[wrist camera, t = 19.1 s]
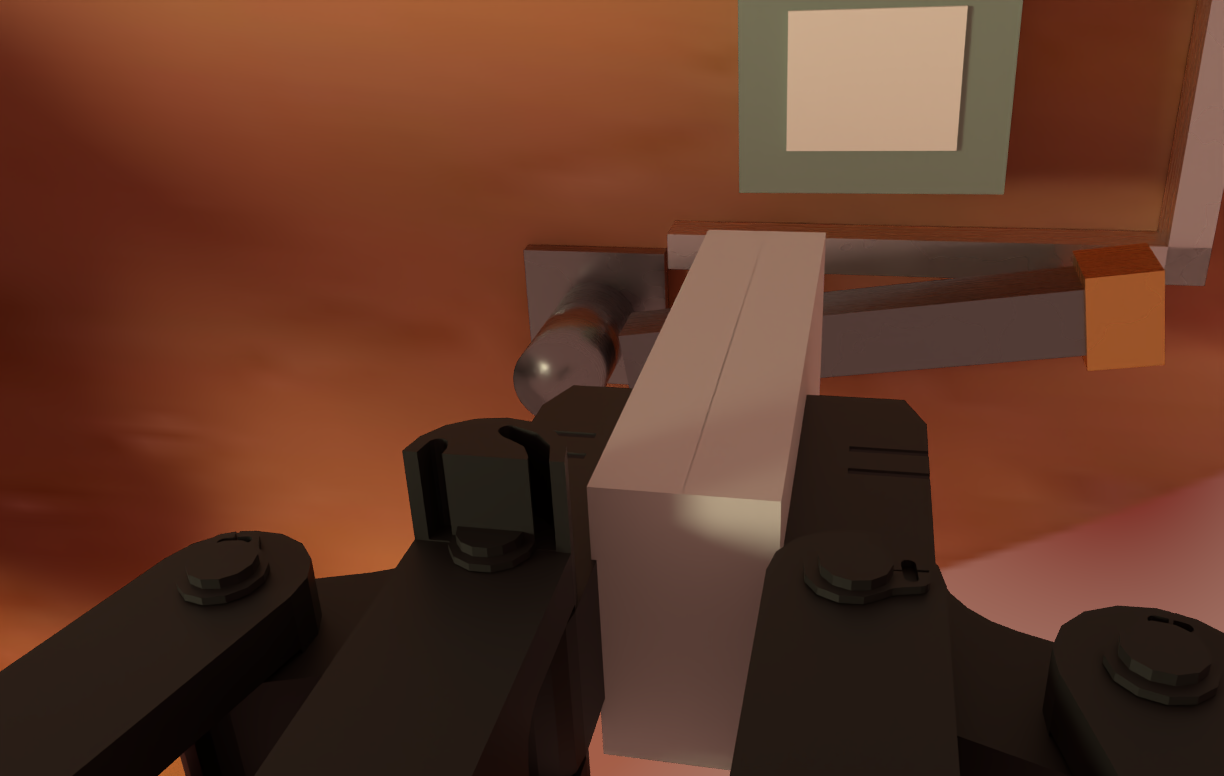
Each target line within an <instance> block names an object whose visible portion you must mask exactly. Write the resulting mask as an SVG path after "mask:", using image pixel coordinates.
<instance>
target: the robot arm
mask: <svg viewBox="0 0 1224 776" xmlns="http://www.w3.org/2000/svg"><path fill="white" fill-rule="evenodd" d="M825 242H826V233H823V232H781V231H739V230H708V232H707V234H706V236H705V238H704V240H703V242H702V244H701V246H700V249H699V251H698V253H697V255H696V257H695V259H694V261H693V263H692V265H691V268H690V270H689V272H688V274H687V276H686V278H685V280H684V282H683V284H682V287H681V289H680V291H679V293H678V295H677V297H676V299H675V301H674V303H673V306H672V308H671V310H670V312H669V314H668V316H667V318H666V320H665V322H664V325H663V327H662V329H661V331H660V333H659V335H658V337H657V339H656V341H655V344H654V346H653V348H652V350H651V352H650V354H649V356H648V358H647V360H646V363H645V365H644V367H643V369H642V371H641V373H640V375H639V377H638V379H637V382H636V384H635V386H634V388H616V387H598V386H580V385H573V386H571V387H570V388H568V389H567V390H565V391H563V392H562V393H560V394H559V395H557V396H556V397H554V398H552V399H551V400H549V401H548V402H546V403H545V404H543V405H542V406H541V408H540V410H539V411H538V413H537V414H536V416H535V418H534V419H533V421H532V422H530V421H524V420H518V419H512V418H484V419H473V420H468V421H463V422H459V423H454V424H449V425H445V426H443V427H441V428H438V429H436V430H434V431H431V432H429V433H427V434H424V435H422V436H420V437H419V438H417V439H416V440H415V441H414V442H412V443H411V444H410V445H409V446H408V447H406V448H405V449H404V450H403V451H402V452H403V459H404V466H405V473H406V480H407V487H408V494H409V501H410V508H411V515H412V521H413V528H414V535H415V540H414V542H413V543H412V545H411V546H410V548H409V549H408V551H407V552H406V553H405V555H404V556H403V558H402V559H401V561H400V562H399V564H398V565H397V567H396V568H395V569H389V570H383V571H378V572H372V573H363V574H354V575H345V576H336V577H327V578H318V579H315V576H314V571H313V565H312V560H311V557H310V556H309V554H308V552H307V551H306V549H305V547H304V546H303V544H302V543H300V542H298V541H296V540H294V539H292V538H290V537H288V536H286V535H284V534H278V533H269V532H261V531H240V533H236V532H231V533H225V534H220V535H217V536H215V537H213V538H210V539H207V540H203V541H200V542H197V543H194V544H191V545H189V546H187V547H186V548H184V549H182V550H180V551H178V552H176V553H174V554H172V555H171V556H169V557H167V558H165V559H163V560H162V561H161V562H159V563H158V564H156V565H155V566H153V567H152V568H150V569H149V570H147V571H146V572H145V573H143V574H142V575H140V576H139V577H137V578H136V579H134V580H133V581H131V582H130V583H129V584H127V585H126V586H124V587H123V588H121V589H120V590H118V591H117V592H115V593H114V594H113V595H111V596H110V597H108V598H107V599H105V600H104V601H102V602H101V603H99V604H98V605H97V606H95V607H94V608H92V609H91V610H89V611H88V612H86V613H85V614H84V615H82V616H81V617H79V618H78V619H76V620H75V621H73V622H72V623H70V624H69V625H68V626H66V627H65V628H63V629H62V630H60V631H59V632H57V633H56V634H54V635H53V636H52V637H50V638H49V639H47V640H46V641H44V642H43V643H41V644H40V645H38V646H37V647H36V648H34V649H33V650H31V651H30V652H28V653H27V654H25V655H24V656H22V657H21V658H20V659H18V660H17V661H15V662H14V663H12V664H11V665H9V666H8V667H6V668H5V669H4V670H2V671H1V672H0V776H158V775H159V774H160V773H161V772H163V771H164V770H165V769H166V768H167V767H168V766H169V765H170V764H172V763H173V762H174V761H175V760H176V759H177V758H178V757H179V756H180V757H181V761H182V764H183V768H184V771H185V775H186V776H590V766H589V751H588V747H589V745H590V742H591V739H592V736H593V733H594V729H595V727H596V723H597V721H598V718H599V715H600V712H601V718H602V733H603V749H604V754H609V755H617V756H625V757H633V758H640V759H648V760H655V761H663V762H671V763H678V764H686V765H694V766H702V767H709V768H717V769H724V770H731V771H730V776H1224V633H1222V632H1221V631H1219V630H1217V629H1214V628H1213V627H1211V626H1209V625H1207V624H1205V623H1203V622H1201V621H1199V620H1197V619H1193V618H1189V617H1186V616H1183V615H1180V614H1177V613H1176V614H1175V613H1171V612H1169V611H1164V610H1160V609H1157V608H1143V607H1129V606H1113V607H1107V608H1102V609H1097V610H1091V611H1085V612H1083V613H1081V614H1080V615H1078V616H1077V617H1075V618H1073V619H1072V620H1070V621H1068V622H1067V623H1065V624H1064V625H1062V626H1061V628H1060V630H1059V633H1058V635H1057V637H1056V639H1055V642H1051V641H1048V640H1045V639H1041V638H1038V637H1035V636H1031V635H1028V634H1025V633H1021V632H1018V631H1015V630H1013V629H1010V628H1008V627H1005V626H1002V625H1000V624H997V623H994V622H991V621H990V620H988V619H986V618H984V617H982V616H981V615H979V614H977V613H975V612H974V611H972V610H970V609H968V608H967V607H966V606H965V605H963V604H962V603H961V602H960V601H959V600H957V599H956V598H955V597H954V596H953V595H952V594H950V592H949V591H948V589H947V587H946V584H945V582H944V579H943V577H942V574H941V572H940V569H939V567H938V565H936V564H935V549H934V534H933V518H932V502H931V486H930V479H929V477H930V470H929V457H928V439H927V424H926V423H925V422H924V421H923V420H922V419H921V418H920V417H919V416H918V414H917V413H916V412H915V411H914V410H913V409H912V408H911V407H910V406H909V405H908V404H907V403H906V401H905V400H894V399H876V398H858V397H840V396H822V395H820V370H821V344H822V319H823V293H824V268H825Z"/></svg>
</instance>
